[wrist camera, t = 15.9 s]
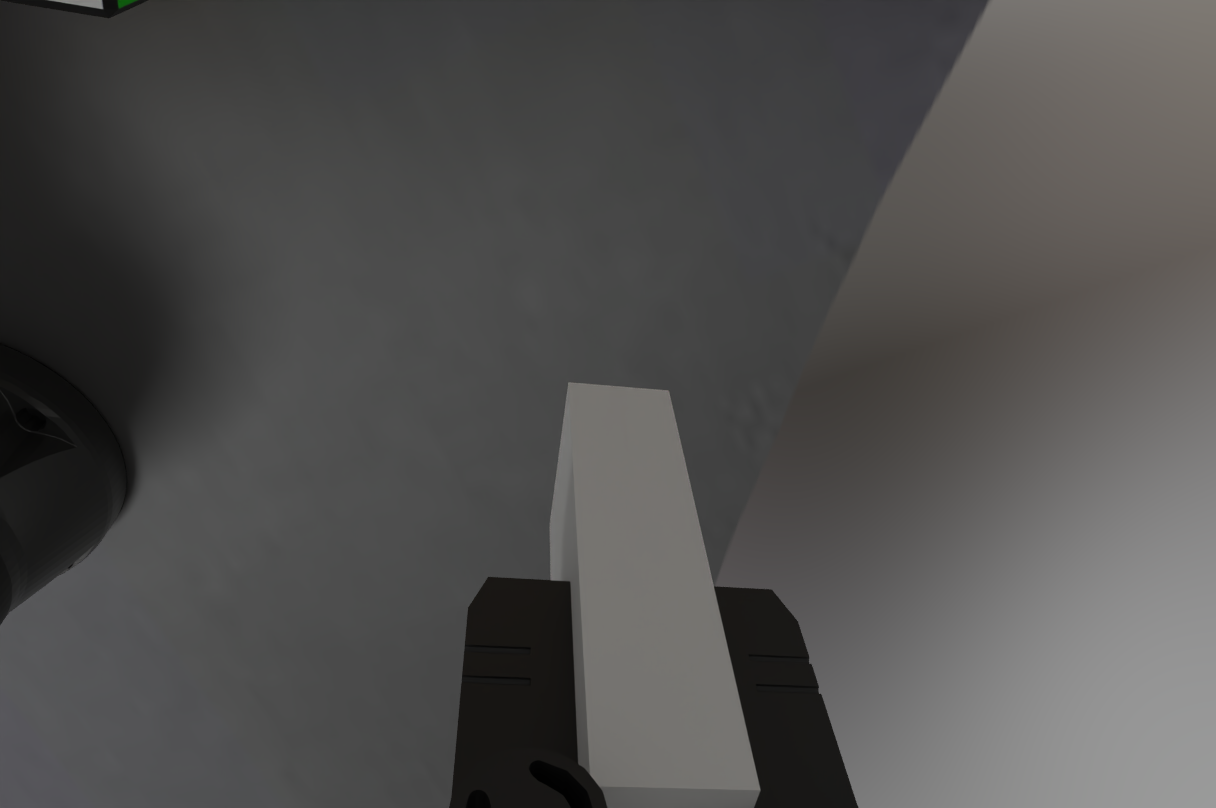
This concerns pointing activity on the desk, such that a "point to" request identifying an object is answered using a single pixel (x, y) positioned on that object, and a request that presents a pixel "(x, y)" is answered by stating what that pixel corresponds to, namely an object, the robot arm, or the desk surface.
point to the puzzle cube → (85, 6)
